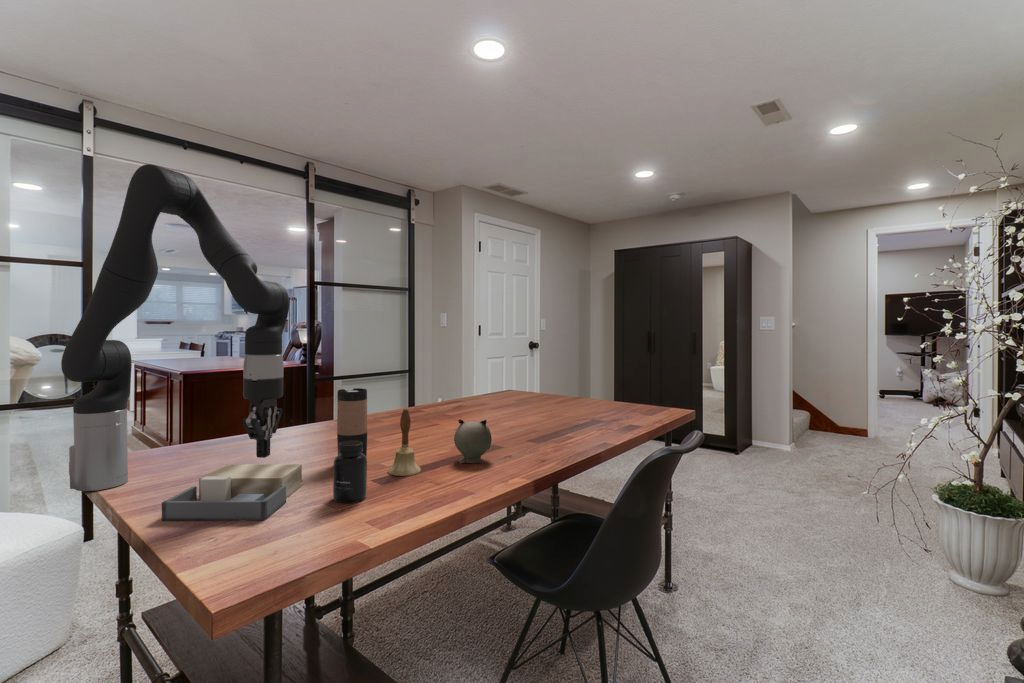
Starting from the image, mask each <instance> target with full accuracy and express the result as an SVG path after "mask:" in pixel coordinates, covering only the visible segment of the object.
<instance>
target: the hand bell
mask: <svg viewBox="0 0 1024 683" xmlns="http://www.w3.org/2000/svg"><path fill="white" fill-rule="evenodd" d="M409 412H410V411H409V409H408V408H405V409H402V413H401V416H400V419H399V420H400V423H399V424H400V430H401V447H400V448H399V449H396V451H395V457H394V461H393V463H392V465H391V467H389V469H388V470H387V473H388V474H389V475H391V476H396V477H409V476H414V475H418V474H419V473H421V472H422V469H421V467H420V466H419V465H418V464H417V462H416V458H415V452H414V449H413V448H411V447H410V446H409V433H410V429H411V422H412V421H411V420H412V419H411V415H410V413H409Z"/></svg>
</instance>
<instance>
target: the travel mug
mask: <svg viewBox="0 0 1024 683" xmlns="http://www.w3.org/2000/svg"><path fill="white" fill-rule="evenodd" d="M336 407H337V408H336V409H337V410H336V411H337V412H336V413H337V414H336V417H337V418H336V419H337V420H336V423H337V424H336V425H337V427H336V430H337V431H336V434H337V439H336V440H337V456H338V455H339V454H340V453H339V443H341V442H344V441H361V442H362V443H363V445H362V448H363V451H362V452H361V453H362V454H364V455H365V456H366V458H368V454H367V453H368V452H367V451H368V390H367V388H362V387H361V388H360V387H359V388H355V387H354V388H353V389H351V390H346V389H344V388H341V389H338V390H337V406H336Z"/></svg>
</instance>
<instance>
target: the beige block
mask: <svg viewBox="0 0 1024 683" xmlns="http://www.w3.org/2000/svg"><path fill="white" fill-rule="evenodd" d="M200 499H201V501H229V500H230V499H231V476H206V477H204V478H202V479H200Z"/></svg>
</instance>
